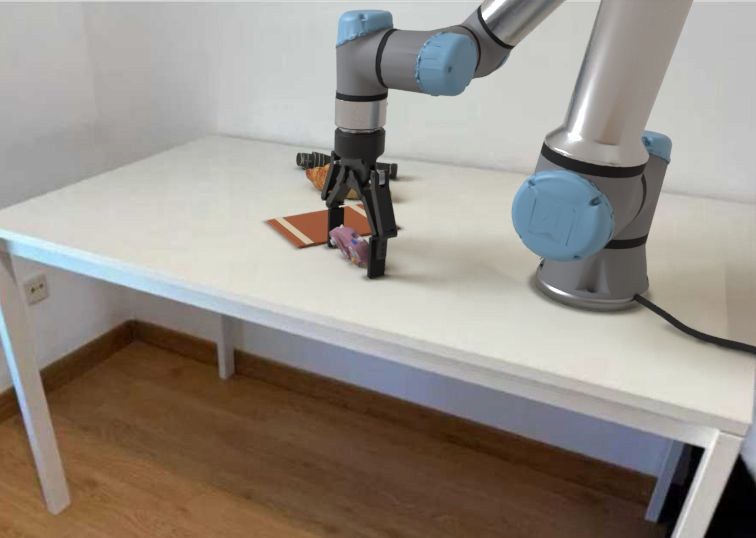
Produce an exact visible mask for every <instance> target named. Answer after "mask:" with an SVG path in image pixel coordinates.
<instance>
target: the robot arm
mask: <svg viewBox="0 0 756 538" xmlns="http://www.w3.org/2000/svg"><path fill="white" fill-rule="evenodd" d="M566 1H567V0H483V1H482V3H481V4H480V5H478V7H476V9H474V10H473V11H472V12H471V14H469V16H467V18H466V19H465V20H464V21H462V23H460V24H459V23H458V24H454V25H450V26H447V27H441V28H436V29H432V30H415V29H413V30H412V29H399V28H395V27H394V26H395V25H394V17H393V14H392V13H391V11H389V10H383V9H355V10H347V11H344V12H343V13H341V14H340V16H339V18H338V21H337V22H338V23H337V33H336V34H337V35H336V36H337V37H336V44H335V58H336V59H335V61H336V62H335V63H336V64H335V65H336V67H335V68H336V71H335V72H336V89H335V97H334V125H335V126H336V128H335V130H334V138H333V139H334V143H333V144H334V145H333V150H331V151H330V156H331V159H330V166H329V169H328V172H327V176H326V179H325V183H324V186H323V190H322V191H321V194H320V200H321V202H324V201H325V207H326V209H327V210H328V232H327V243H326V246H327V247H328V248H333V247H337V245H336V244H335V246H334V245H332V244H331V242H330V239H331V237H330V234H329V232H330V231H332V230H333V229H335V228H336V227H340V226H341V225H343V226H344V208H343V207H344V206H345V205H346V202H345V200H346V199H347V198H346V197H347V195H348V193H349V192H350V190H351V188H352V189H353V190H354V191H355V192H356V193H357V196H358V198H357V199H359V198H360V199H359V200H361V204H362V205H363V206H364V210H365V213H366V216H367V219H368V223H369V226H370V229H371V232H372V234H371V236H369V237H368V244H369V249H368V265H367V269H366V271H367V272H366V277H367V278H368V279H373V278H377V277H382V276H385V274H386V273H385V272H386V260H387V256H388V240H389V239H395V238H397V237H398V234H399V233H398V229H397V227H396V225H397V221H396V216H395V210H394V205H393V199H392V194H391V193H390V191H391V188H390V179H389V171H388V170H387V169H385V170H378V169H377V163H376V162H377V160H378V159H379V158H380V157H381V156H382V155H383V154H384V153H385V149H386V135H387V134H386V132H387V131H386V129H385V128H384V127H385V126H386V124H387V113H388V112H387V111H388V110H387V109H388V105H389V102H388V97H389V90H398V91H404V92H411V93H416V94H424V95H428V96H431V97H435V98H436V97H441V96H442V97H456V96H459V95H461V94H462V93H464V91H465V90H466V88H467V87H468V86H469V85H470V84H471V83H472V80H475V79H481V78H485V77H488V76H490V75H491V74H492V73H494V72H496V71H498V70H499V69H501V68H502V67H503V66H504V65H505V64H506V62H507V61H508V59H509V58H510V55H511V52H512V51H513V50H514V48H515V47H516V46H517V45H519V44H520V43H521V42H522V41H523V40H524V39H526V38H527V37H528V36H529V35H530V34H531V33H532V32H533V31H534V30H535V29H537V28H538V27H539V26H540V25H541V24H542V23H543V22H545V20H546V19H548V18H549V17H550V16H551V15H553V13H555V11H557V10H558V9H559V8H560V7H561V6H562V5H563V4H564V3H565V2H566ZM693 3H694V0H600V2H599V6H598V9H597V12H596V14H595V18H594V21H593V25H592V28H591V31H590V35H589V38H588V41H587V44H586V47H585V50H584V54H583V56H582V61H581V64H580V67H579V69H578V73H577V77H576V79H575V83H574V86H573V90H572V93H571V95H570V99H569V103H568V105H567V108H566V113H565V116H564V118H563V121H562V123H561V125H559V126H558V127H556V128H554V129H552V130H551V131H549V132H548V133H546V134H545V137H544V139H543V142H542V145H541V149H540V152H539V155H538V158H537V161H536V165H535V169H534V171H533V174H532V175H531V176H529V177H528V178H526V179H525V180H524V181H523V183H522V185H520V187H519V188H518V190H517V191H516V193H515V195H514V197H513V200H512V205H511V222H512V225H513V228H514V232H515V233H516V234H517V235H518V237H519V239H520V240H521V243H522V244H523V245H524V246H525V247H526V248H527V249H528V250H529V251H530V252H532V253H533V254H534V255H536V256H537V257H540V259H539V261H540V262H539V264H538V266H537V267H536V271H535V277H534V285H535V287H536V289H537V290H538V291H539V292H540V293H542V294H543V295H544V296H546V297H547V298H549V299H551V300H553V301H555V302H557V303H560V304H562V305H566V306H569V307H571V308H576V309H580V310H587V311H595V312H620V311H626V310H631V309H634V308H637V307H639V306H641V305H642V306H643V307H645V308H647V309H648V310H649V311H651V312H653V313H654V314H656V315H658V316H659V317H661V319H664V320H665V321H667V323H669V324H670V325H671V326H673V327H674V328H676V329H677V330H679V331H681V332H682V333H684V334H686V335H688V336H690V337H693V338H695V339H698V340H700V341H703V342H706V343H710V344H713V345H717V346H722V347H725V348H730V349H734V350H739V351H743V352H747V353H751V354H752V355H753V354H754V355H756V345H752V344H748V343H745V342H742V341H741V342H740V341H736V340H732V339H726V338H722V337H718V336H715V335H711V334H708V333H705V332H702V331H699V330H697V329H695V328H692V327H690V326H688V325H687V324H684V323H683V322H682V321H680V320H679V319H677V318H676V317H674V315H672V314H671V313H669V312H667V310H665V309H663V308H662V307H660V306H659V305H657V304H655V303H654V302H651V301H650V300H649V299H647V295H648V292H649V288H650V280H649V276H648V264H647V247H646V246H647V241H648V237H649V234H650V231H651V227H652V223H653V220H654V218H655V217H654V216H655V213H656V209H657V205H658V203H659V198H660V195H661V191H662V188H663V185H664V180H665V178H666V174H667V170H668V166H669V165H670V164H671V160H672V159H671V154H672V149H673V148H672V147H673V143H672V139H671V138H670V137H669V136H668V135H666V134H664V133H660V132H656V131H652V130H648V129H647V130H646V127H647V124H648V121H649V119H650V116H651V113H652V110H653V108H654V105H655V103H656V100H657V97H658V95H659V92H660V89H661V87H662V84H663V82H664V80H665V76H666V74H667V71H668V68H669V66H670V63H671V61H672V58H673V55H674V53H675V50H676V47H677V44H678V42H679V40H680V37H681V34H682V31H683V29H684V26H685V23H686V21H687V18H688V16H689V14H690V10H691V7H692V6H693ZM370 187H371V189H370ZM329 191H332V192H329ZM328 192H329V193H328ZM331 240H332V239H331Z"/></svg>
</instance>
